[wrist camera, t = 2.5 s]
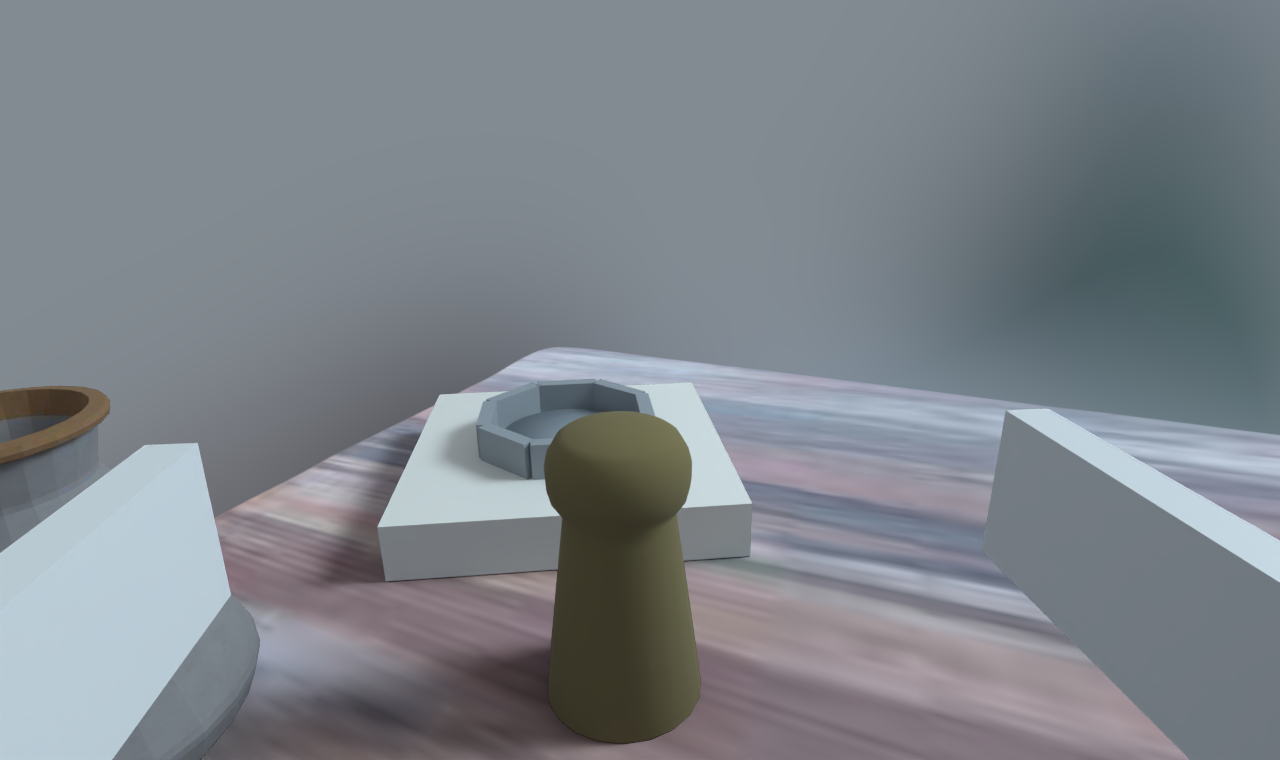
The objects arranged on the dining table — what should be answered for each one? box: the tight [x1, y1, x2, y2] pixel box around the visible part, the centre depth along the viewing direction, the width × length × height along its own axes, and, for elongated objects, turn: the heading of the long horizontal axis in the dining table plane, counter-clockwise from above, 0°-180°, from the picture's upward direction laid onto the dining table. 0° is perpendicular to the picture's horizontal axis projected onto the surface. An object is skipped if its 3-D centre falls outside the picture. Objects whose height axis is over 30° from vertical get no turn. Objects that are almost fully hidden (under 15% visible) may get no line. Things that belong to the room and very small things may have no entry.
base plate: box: [377, 379, 752, 581], centre depth 43 cm, size 18×18×5 cm
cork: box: [544, 411, 701, 744], centre depth 27 cm, size 6×6×11 cm
